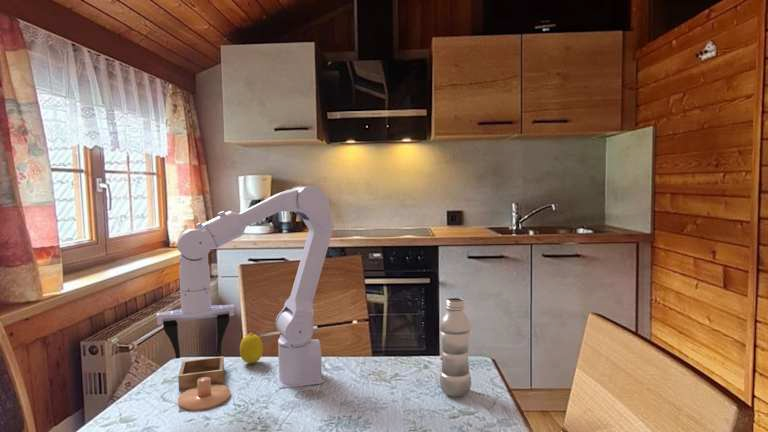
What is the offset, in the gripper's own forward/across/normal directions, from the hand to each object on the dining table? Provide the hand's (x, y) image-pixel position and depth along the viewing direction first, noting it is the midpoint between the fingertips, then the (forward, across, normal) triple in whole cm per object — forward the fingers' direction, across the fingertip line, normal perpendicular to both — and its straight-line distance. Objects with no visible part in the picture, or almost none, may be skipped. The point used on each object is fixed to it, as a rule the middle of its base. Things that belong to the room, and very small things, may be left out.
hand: (198, 353), depth 94 cm
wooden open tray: (+10, -1, -10) cm, 14 cm away
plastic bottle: (+10, -49, +20) cm, 54 cm away
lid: (+9, -1, 0) cm, 9 cm away
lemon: (+10, -12, -15) cm, 22 cm away
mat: (+10, -1, 0) cm, 10 cm away
